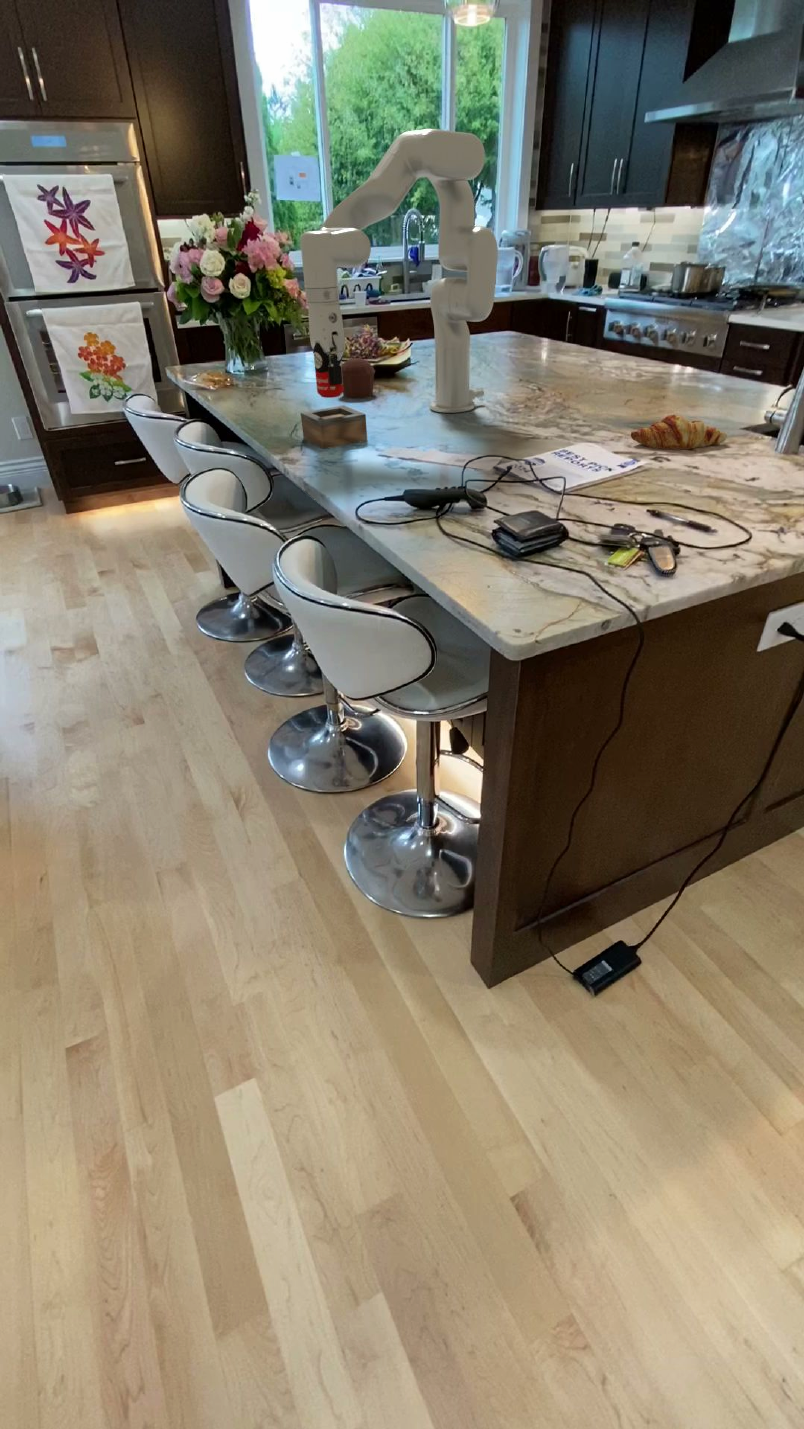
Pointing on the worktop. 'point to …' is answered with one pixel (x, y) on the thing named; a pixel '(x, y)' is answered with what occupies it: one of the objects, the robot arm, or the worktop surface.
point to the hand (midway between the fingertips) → (329, 381)
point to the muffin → (357, 378)
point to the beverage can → (324, 374)
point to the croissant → (678, 434)
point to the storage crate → (334, 426)
